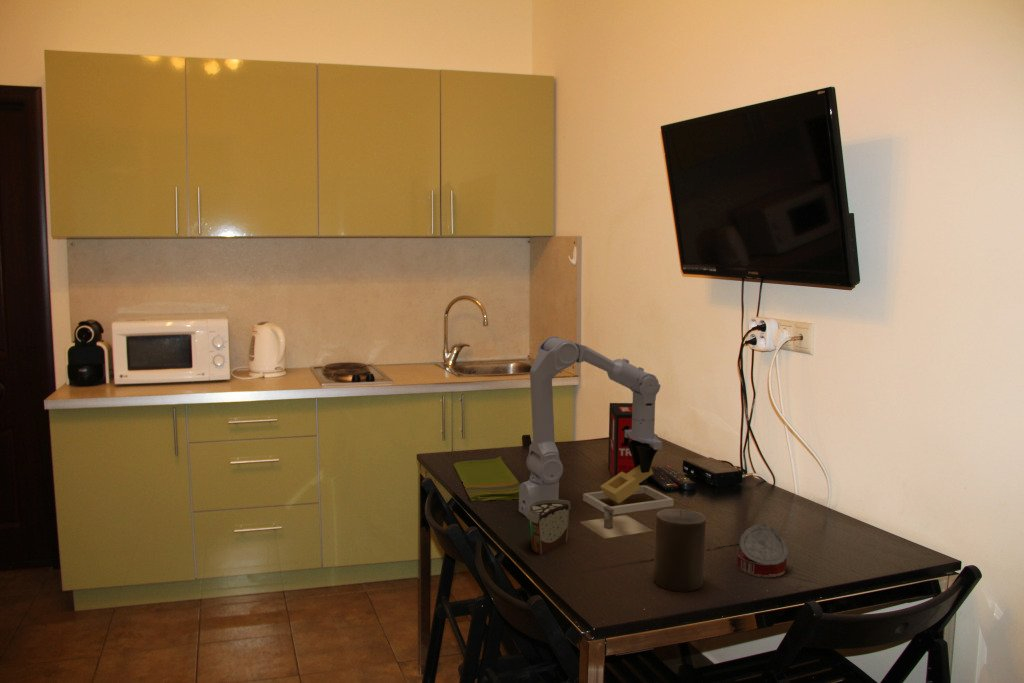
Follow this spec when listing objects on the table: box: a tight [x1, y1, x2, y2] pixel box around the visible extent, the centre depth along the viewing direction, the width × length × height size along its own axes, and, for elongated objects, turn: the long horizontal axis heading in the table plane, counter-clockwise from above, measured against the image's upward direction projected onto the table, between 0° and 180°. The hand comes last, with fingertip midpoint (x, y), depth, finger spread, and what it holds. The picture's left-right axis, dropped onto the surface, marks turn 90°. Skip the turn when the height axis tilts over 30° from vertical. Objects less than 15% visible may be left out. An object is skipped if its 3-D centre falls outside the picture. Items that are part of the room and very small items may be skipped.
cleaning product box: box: [607, 402, 648, 486], centre depth 239 cm, size 16×9×20 cm, turn 0°
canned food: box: [736, 523, 789, 575], centre depth 173 cm, size 11×10×10 cm
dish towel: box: [453, 455, 521, 502], centre depth 234 cm, size 15×36×3 cm, turn 12°
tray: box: [582, 485, 675, 516], centre depth 214 cm, size 19×13×2 cm
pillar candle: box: [653, 508, 707, 593], centre depth 166 cm, size 10×10×15 cm
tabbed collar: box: [600, 465, 654, 504], centre depth 213 cm, size 13×7×3 cm, turn 113°
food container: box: [525, 499, 572, 555], centre depth 183 cm, size 12×6×10 cm, turn 141°
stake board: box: [579, 505, 654, 540], centre depth 196 cm, size 13×12×6 cm
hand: (642, 470), depth 214 cm, fingers closed on tabbed collar, 2 cm apart
